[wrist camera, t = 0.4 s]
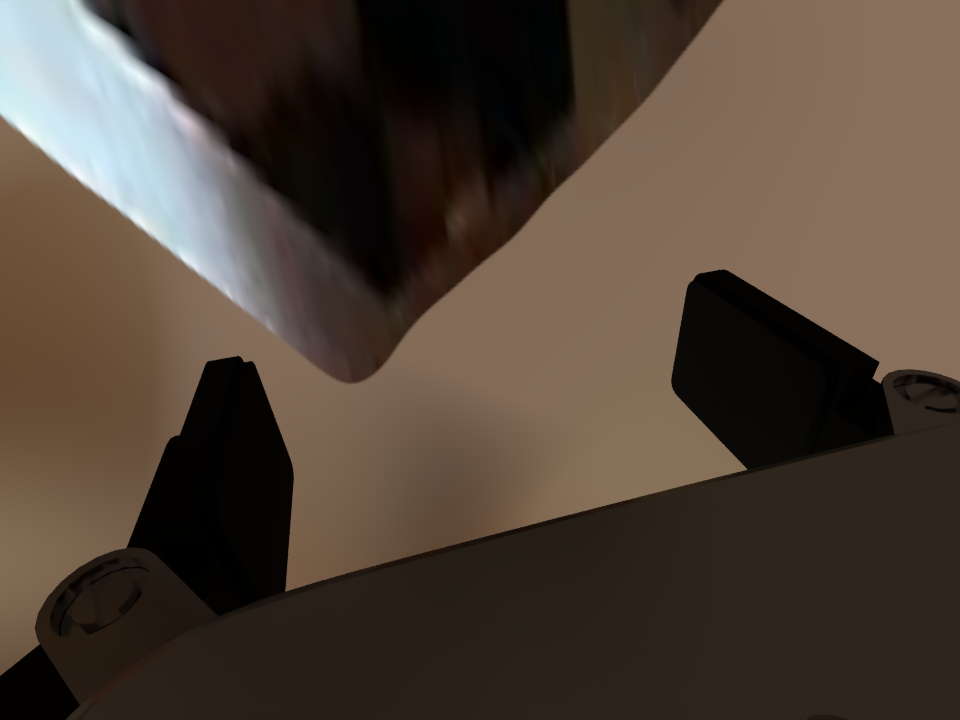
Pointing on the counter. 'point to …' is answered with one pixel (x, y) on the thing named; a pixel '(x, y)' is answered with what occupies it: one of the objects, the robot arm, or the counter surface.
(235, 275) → the counter surface
